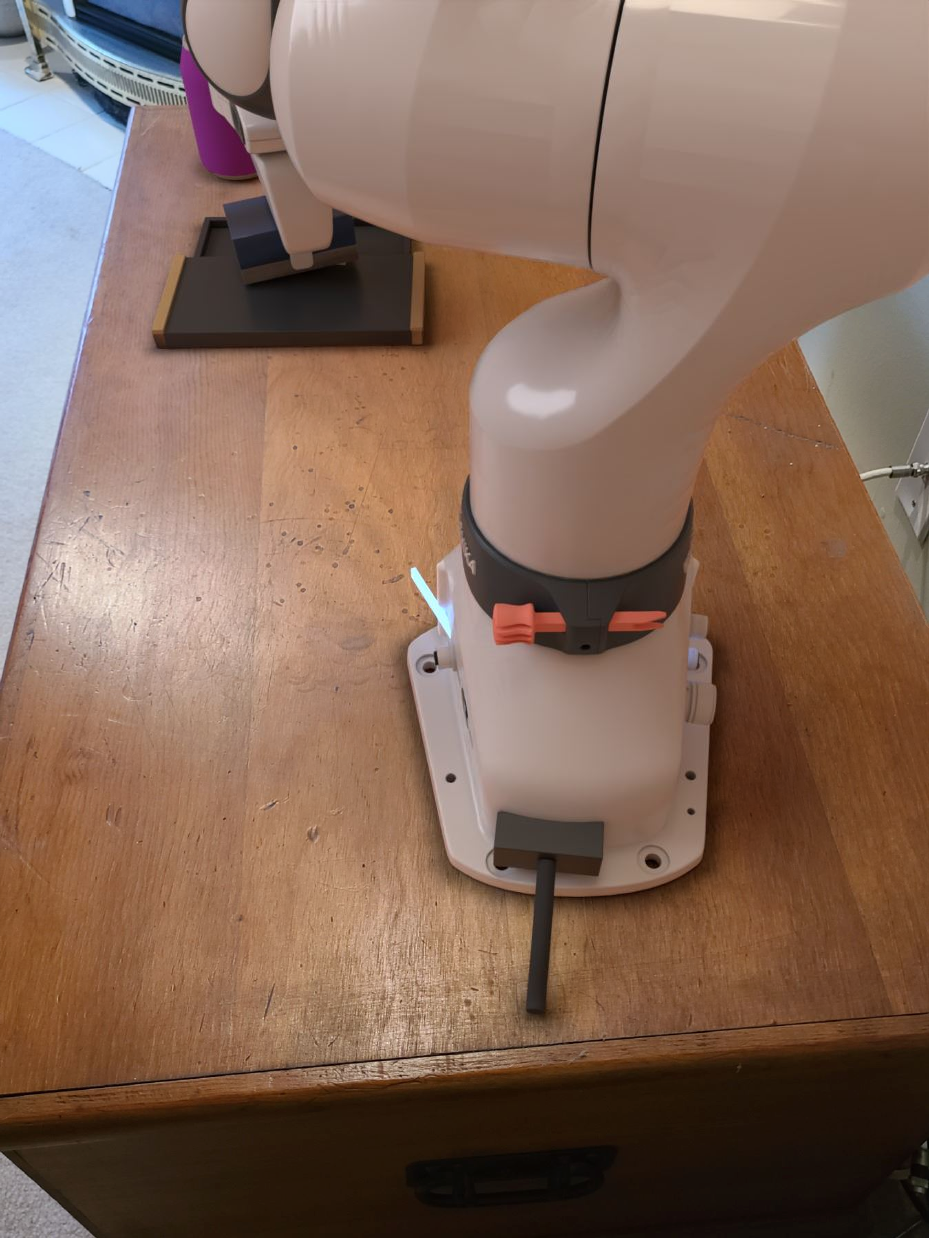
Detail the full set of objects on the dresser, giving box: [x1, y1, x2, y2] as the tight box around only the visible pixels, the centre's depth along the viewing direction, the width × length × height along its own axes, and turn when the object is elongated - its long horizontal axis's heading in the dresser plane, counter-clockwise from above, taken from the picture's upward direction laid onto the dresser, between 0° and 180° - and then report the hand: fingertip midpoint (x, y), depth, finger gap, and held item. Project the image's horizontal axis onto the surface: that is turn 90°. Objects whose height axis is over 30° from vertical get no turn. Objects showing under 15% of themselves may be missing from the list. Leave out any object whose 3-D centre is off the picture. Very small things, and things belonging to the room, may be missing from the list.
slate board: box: [151, 251, 427, 349], centre depth 84 cm, size 11×22×2 cm, turn 91°
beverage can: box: [179, 34, 258, 181], centre depth 95 cm, size 8×8×12 cm
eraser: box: [222, 194, 359, 285], centre depth 84 cm, size 5×10×4 cm, turn 107°
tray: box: [193, 216, 412, 257], centre depth 90 cm, size 7×19×1 cm, turn 90°
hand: (294, 244), depth 85 cm, fingers closed on eraser, 5 cm apart
